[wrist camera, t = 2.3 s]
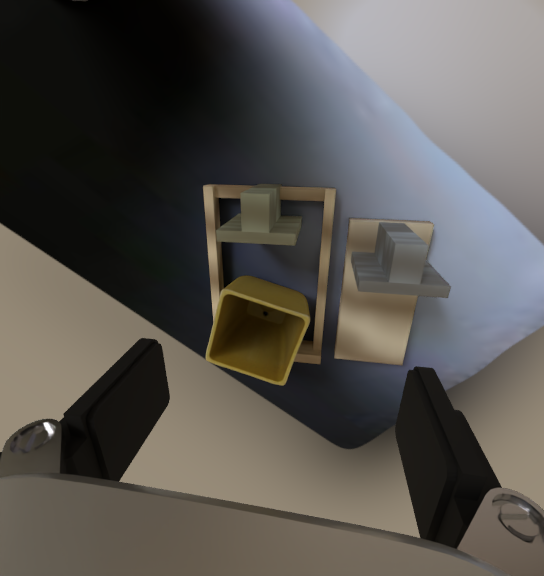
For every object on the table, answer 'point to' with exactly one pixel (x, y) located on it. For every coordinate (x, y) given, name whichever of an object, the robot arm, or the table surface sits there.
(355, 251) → the beige l-shaped piece
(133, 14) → the table surface
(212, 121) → the table surface
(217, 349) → the flower pot
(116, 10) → the table surface
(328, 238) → the wooden frame with block
